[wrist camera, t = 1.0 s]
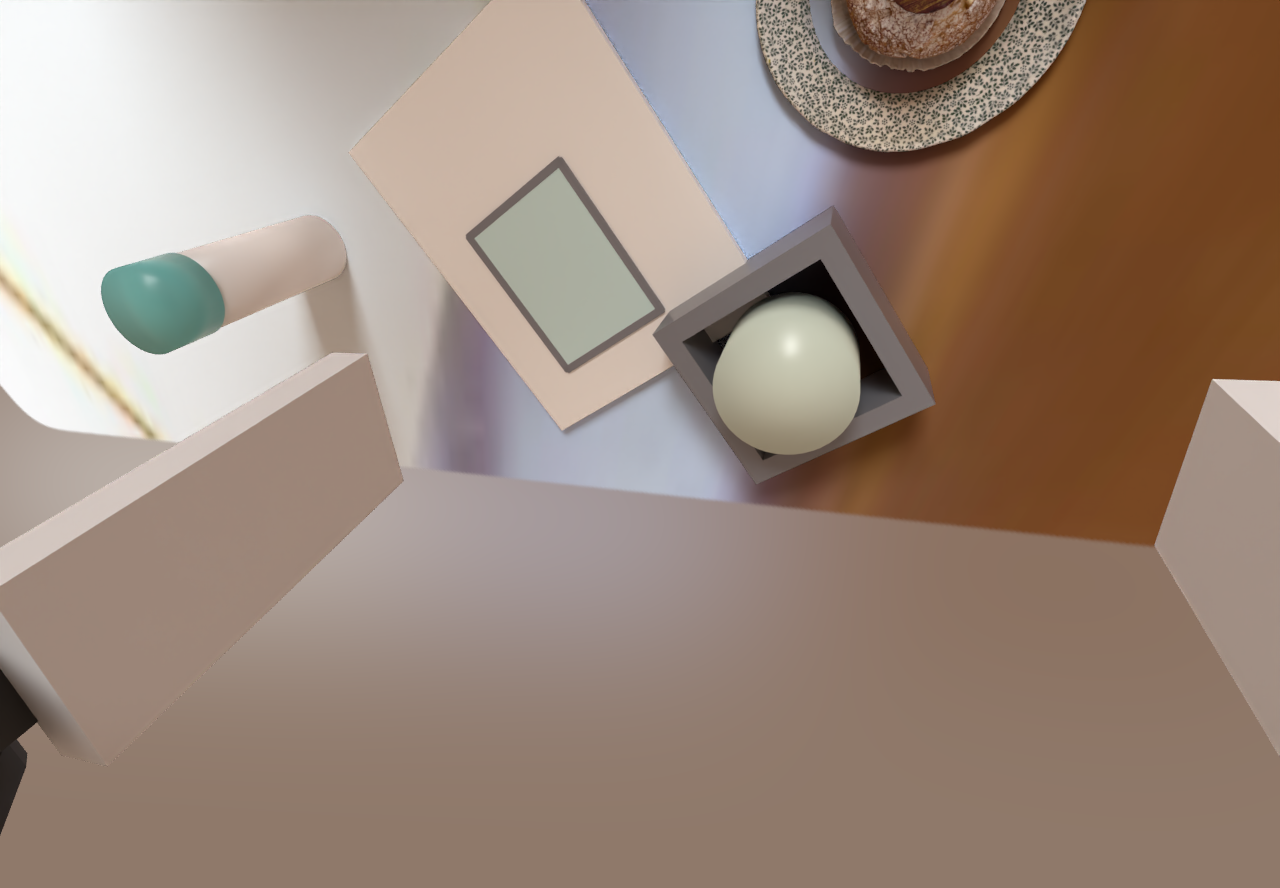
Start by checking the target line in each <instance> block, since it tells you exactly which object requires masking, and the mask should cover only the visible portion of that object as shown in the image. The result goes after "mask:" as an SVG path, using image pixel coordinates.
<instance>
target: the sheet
mask: <svg viewBox="0 0 1280 888" xmlns="http://www.w3.org/2000/svg"><path fill="white" fill-rule="evenodd" d="M349 154H350V155H351V157H352V158H353V159H354V161H355V162H356V163H357V165H358V166H359V167H360V168H361V170H362V171H363V172H364V174H365V175H366V176H367V178H368V179H369V180H370V181H371V183H372V184H373V185H374V187H375V188H376V189H377V191H378V192H379V193H380V194H381V196H382V197H383V198H384V200H385V201H386V202H387V204H388V205H389V206H390V208H391V209H392V210H393V211H394V213H395V214H396V215H397V217H398V218H399V219H400V221H401V222H402V223H403V224H404V226H405V227H406V228H407V230H408V231H409V232H410V234H411V235H412V236H413V237H414V239H415V240H416V241H417V243H418V244H419V245H420V247H421V248H422V249H423V250H424V252H425V253H426V254H427V256H428V257H429V258H430V260H431V261H432V262H433V263H434V265H435V266H436V267H437V269H438V270H439V271H440V273H441V274H442V275H443V276H444V278H445V279H446V280H447V282H448V283H449V284H450V286H451V287H452V288H453V289H454V291H455V292H456V293H457V295H458V296H459V297H460V299H461V300H462V301H463V303H464V304H465V305H466V306H467V308H468V309H469V310H470V312H471V313H472V314H473V316H474V317H475V318H476V319H477V321H478V322H479V323H480V325H481V326H482V327H483V329H484V330H485V331H486V332H487V334H488V335H489V336H490V338H491V339H492V340H493V342H494V343H495V344H496V345H497V347H498V348H499V349H500V351H501V352H502V353H503V355H504V356H505V357H506V358H507V360H508V361H509V362H510V364H511V365H512V366H513V368H514V369H515V370H516V371H517V373H518V374H519V375H520V377H521V378H522V379H523V381H524V382H525V383H526V384H527V386H528V387H529V388H530V390H531V391H532V392H533V394H534V395H535V396H536V398H537V399H538V400H539V401H540V403H541V404H542V405H543V407H544V408H545V409H546V411H547V412H548V413H549V414H550V416H551V417H552V418H553V420H554V421H555V422H556V424H557V425H558V426H559V427H560V429H561V430H564V429H566V428H568V427H569V426H571V425H573V424H574V423H576V422H578V421H580V420H581V419H583V418H585V417H586V416H588V415H590V414H592V413H593V412H595V411H597V410H598V409H600V408H602V407H604V406H605V405H607V404H609V403H610V402H612V401H614V400H616V399H617V398H619V397H621V396H622V395H624V394H626V393H628V392H629V391H631V390H633V389H634V388H636V387H638V386H640V385H641V384H643V383H645V382H646V381H648V380H650V379H652V378H653V377H655V376H657V375H658V374H660V373H662V372H664V371H665V370H667V369H669V368H670V367H672V366H674V365H673V364H672V362H671V361H670V360H669V358H668V357H667V355H666V354H665V352H664V351H663V349H662V348H661V347H660V345H659V344H658V342H657V341H656V339H655V338H654V336H653V335H652V334H653V333H654V332H655V330H656V329H657V328H658V326H659V325H660V323H661V322H662V321H663V319H664V318H665V317H666V315H667V314H668V313H669V311H671V310H672V309H674V308H676V307H677V306H679V305H680V304H682V303H683V302H685V301H687V300H688V299H690V298H691V297H693V296H694V295H696V294H698V293H699V292H701V291H702V290H704V289H706V288H707V287H709V286H710V285H712V284H713V283H715V282H717V281H718V280H720V279H721V278H723V277H725V276H726V275H728V274H729V273H731V272H732V271H734V270H736V269H737V268H739V267H740V266H742V265H744V264H745V263H746V262H747V258H746V257H745V255H744V253H743V252H742V250H741V249H740V247H739V246H738V244H737V242H736V241H735V239H734V238H733V236H732V234H731V233H730V231H729V230H728V228H727V226H726V225H725V223H724V222H723V220H722V218H721V217H720V215H719V214H718V212H717V210H716V209H715V207H714V206H713V204H712V203H711V201H710V199H709V198H708V196H707V195H706V193H705V191H704V190H703V188H702V187H701V185H700V183H699V182H698V180H697V179H696V177H695V175H694V174H693V172H692V171H691V169H690V168H689V166H688V164H687V163H686V161H685V160H684V158H683V156H682V155H681V153H680V152H679V150H678V148H677V147H676V145H675V144H674V142H673V140H672V139H671V137H670V136H669V134H668V132H667V131H666V129H665V128H664V126H663V125H662V123H661V121H660V120H659V118H658V117H657V115H656V113H655V112H654V110H653V109H652V107H651V105H650V104H649V102H648V101H647V99H646V97H645V96H644V94H643V93H642V91H641V90H640V88H639V86H638V85H637V83H636V82H635V80H634V78H633V77H632V75H631V74H630V72H629V70H628V69H627V67H626V66H625V64H624V62H623V61H622V59H621V58H620V56H619V54H618V53H617V51H616V50H615V48H614V47H613V45H612V43H611V42H610V40H609V39H608V37H607V35H606V34H605V32H604V31H603V29H602V27H601V26H600V24H599V23H598V21H597V19H596V18H595V16H594V15H593V13H592V12H591V10H590V8H589V7H588V5H587V4H586V2H585V0H491V1H490V2H489V3H488V4H487V5H486V7H485V8H484V9H483V10H482V11H481V12H480V13H479V14H478V15H477V16H476V17H475V18H474V19H473V20H472V21H471V23H470V24H469V25H468V26H467V27H466V28H465V29H464V30H463V31H462V32H461V33H460V34H459V35H458V36H457V37H456V39H455V40H454V41H453V42H452V43H451V44H450V45H449V46H448V47H447V48H446V49H445V50H444V51H443V52H442V53H441V55H440V56H439V57H438V58H437V59H436V60H435V61H434V62H433V63H432V64H431V65H430V66H429V67H428V68H427V69H426V71H425V72H424V73H423V74H422V75H421V76H420V77H419V78H418V79H417V80H416V81H415V82H414V83H413V84H412V85H411V87H410V88H409V89H408V90H407V91H406V92H405V93H404V94H403V95H402V96H401V97H400V98H399V99H398V100H397V101H396V102H395V104H394V105H393V106H392V107H391V108H390V109H389V110H388V111H387V112H386V113H385V114H384V115H383V116H382V117H381V118H380V120H379V121H378V122H377V123H376V124H375V125H374V126H373V127H372V128H371V129H370V130H369V131H368V132H367V133H366V134H365V136H364V137H363V138H362V139H361V140H360V141H359V142H358V143H357V144H356V145H355V146H354V147H353V148H352V149H351V150H350V152H349ZM767 297H770V295H769V293H768V292H767V291H766V292H765V293H763V294H761V295H760V296H758V297H756V298H755V299H753V300H751V301H750V302H748V303H746V304H745V305H743V306H741V307H740V308H738V309H736V310H735V311H733V312H731V313H730V314H728V315H726V316H725V317H723V318H721V319H720V320H718V321H716V322H715V323H713V324H711V325H710V326H708V327H706V328H705V329H704V330H705V331H706V333H707V334H708V336H709V337H710V339H711V340H712V342H715V341H717V340H718V339H720V338H722V337H724V336H725V335H727V334H729V333H730V332H732V330H733V328H734V326H735V324H736V323H737V321H738V320H739V318H740V317H741V316H742V315H743V314H744V312H745V311H747V310H748V309H749V308H750V307H751V306H753V305H754V304H756V303H757V302H759V301H761V300H763V299H765V298H767Z"/></svg>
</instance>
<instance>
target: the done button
mask: <svg viewBox="0 0 1280 888" xmlns="http://www.w3.org/2000/svg"><path fill="white" fill-rule="evenodd" d="M713 397H714V402H715V405H716V408H717V410H718V413H719V415H720V417H721V418H722V420H723V422H724V423H725V424H726V426H727V427H728V428H729V429H730V430H731V431H732V432H733V433H734V434H735V435H736V436H737V437H738V438H739V439H741V440H742V441H744V442H745V443H747V444H749V445H750V446H752V447H755V448H757V449H759V450H762V451H765V452H769V453H774V454H783V455H794V454H802V453H807V452H810V451H814V450H816V449H819V448H821V447H823V446H825V445H827V444H829V443H830V442H832V441H833V440H835V439H836V438H837V437H838V436H839V435H840V434H842V433H843V432H844V430H845V429H846V428H847V427H848V426H849V424H850V422H851V421H852V419H853V418H854V415H855V413H856V411H857V408H858V404H859V400H860V345H859V340H858V337H857V334H856V331H855V329H854V327H853V325H852V323H851V322H850V320H849V319H848V317H847V316H846V315H845V314H844V313H843V312H842V311H841V310H840V309H839V308H838V307H836V306H835V305H834V304H832V303H830V302H829V301H827V300H825V299H823V298H821V297H818V296H815V295H812V294H807V293H801V292H788V293H781V294H776V295H772V296H770V297H767V298H765V299H763V300H761V301H759V302H757V303H756V304H754V305H753V306H751V307H750V308H749V309H748V310H747V311H745V312H744V314H743V315H742V316H741V317H740V318H739V320H738V321H737V323H736V324H735V326H734V328H733V330H732V332H731V335H730V337H729V339H728V341H727V343H726V346H725V348H724V350H723V352H722V354H721V357H720V359H719V361H718V363H717V365H716V369H715V372H714V377H713Z"/></svg>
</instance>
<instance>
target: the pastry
mask: <svg viewBox="0 0 1280 888" xmlns="http://www.w3.org/2000/svg"><path fill="white" fill-rule="evenodd" d="M1004 2H1005V0H831V7H832V15H833V16H832V17H833V20H834V28H835V30H836V31H837V33H838V35H839V36H840V37H842V38H843V41H844V42H845V44H848V45H851V47H852V49H853V50H854V51H855V52H858V53H859V54H860V56H861V57H862V58H864V59H867V60H868V61H869V62H870V63H871V64H876V65H879V66H880V67H881V68H882V66H883V65H887V66H889V67H890V69H897V70H904V69H907V72H914V70H916V69H918V70H922V71H926V70H928V69H934V68H936V67H939V66H942V65H944V64H946V63H949V62H950V61H953V60H955V59H957V58H959V57H960V56H962V55H963V54H964V53H965V52H967V51H968V50H969V49H971V48H972V47H973V46H974V45H975V44H976V43H977V42H978V41H979V40H980V39H981V38H982V37H983V36H984V34H985V33H986V32H987V31H988V29H989V28H990V27H991V26H992V24H993V22H994V21H995V20H996V18H997V17H998V15H999V12H1000V10H1001V8H1002V7H1003V5H1004ZM1085 3H1086V0H1020V2H1019V4H1018V7H1017V9H1016V11H1015V13H1014V15H1013V17H1012V19H1011V21H1010V22H1009V24H1008V25H1007V27H1006V28H1005V30H1004V32H1003V33H1002V34H1001V36H1000V37H999V38H998V40H997V41H996V42H995V43H994V45H993V46H992V47H991V48H990V49H989V50H988V51H987V52H986V53H985V55H984V56H982V57H981V58H980V59H979V60H978V61H977V62H976V63H975V64H973V65H972V66H971V67H970V68H969V69H967V70H966V71H964V72H962V73H961V74H960V75H958V76H956V77H954V78H953V79H951V80H949V81H947V82H945V83H943V84H941V85H939V86H935V87H933V88H930V89H927V90H923V91H918V92H913V93H907V94H906V93H902V94H899V93H897V94H895V93H894V94H891V93H884V92H879V91H874V90H871V89H868V88H865V87H863V86H861V85H859V84H857V83H855V82H853V81H851V80H850V79H849V78H847V77H846V76H845V75H844V74H842V73H841V72H840V71H839V70H838V69H837V67H836V66H835V65H833V63H832V62H831V61H830V60H829V58H828V57H827V56H826V54H825V52H824V50H823V49H822V47H821V45H820V42H819V40H818V38H817V36H816V33H815V28H814V26H813V22H812V18H811V13H810V3H809V0H756V18H757V30H758V35H759V40H760V44H761V48H762V51H763V55H764V58H765V60H766V63H767V66H768V68H769V71H770V73H771V75H772V77H773V79H774V81H775V82H776V84H777V86H778V88H779V89H780V91H781V92H782V93H783V95H784V96H785V97H786V99H787V100H788V101H789V102H790V104H791V105H793V107H795V108H796V110H797V111H798V112H799V113H800V114H801V115H802V116H803V117H804V118H805V119H806V120H807V121H808V122H809V123H810V124H812V125H813V126H814V127H816V128H817V129H819V131H822V132H824V133H826V134H828V135H829V136H832V137H834V138H836V139H838V140H839V141H841V142H843V143H845V144H849V145H852V146H855V147H858V148H862V149H867V150H871V151H880V152H904V151H912V150H918V149H922V148H927V147H930V146H933V145H936V144H940V143H944V142H947V141H951V140H954V139H957V138H959V137H962V136H964V135H966V134H969V133H970V132H972V131H974V130H975V129H977V128H979V127H980V126H982V125H983V124H985V123H986V122H988V121H989V120H991V119H992V118H994V117H995V116H997V115H998V114H1000V113H1002V112H1003V111H1005V110H1006V109H1008V108H1009V107H1010V106H1011V105H1013V104H1014V103H1015V102H1016V101H1018V100H1019V99H1020V98H1021V97H1022V96H1024V94H1025V93H1026V92H1027V91H1028V90H1029V89H1030V88H1031V87H1032V86H1033V85H1034V84H1035V83H1036V82H1037V81H1038V80H1039V79H1040V78H1041V77H1042V75H1043V74H1044V73H1045V72H1046V70H1047V69H1048V68H1049V67H1050V65H1051V64H1052V63H1053V62H1054V61H1055V59H1056V58H1057V56H1058V54H1059V53H1060V51H1061V50H1062V48H1063V47H1064V46H1065V44H1066V42H1067V41H1068V39H1069V37H1070V35H1071V33H1072V31H1073V30H1074V28H1075V25H1076V23H1077V21H1078V19H1079V17H1080V15H1081V12H1082V10H1083V7H1084V5H1085Z"/></svg>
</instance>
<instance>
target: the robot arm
mask: <svg viewBox="0 0 1280 888" xmlns="http://www.w3.org/2000/svg"><path fill="white" fill-rule="evenodd" d="M402 482H403V477H402V474H401V470H400V467H399V463H398V460H397V456H396V453H395V449H394V446H393V442H392V439H391V435H390V432H389V428H388V425H387V421H386V418H385V414H384V411H383V407H382V404H381V400H380V397H379V393H378V390H377V386H376V383H375V379H374V376H373V372H372V369H371V365H370V362H369V358H368V355H367V354H364V353H330V354H329V355H327V356H325V357H324V358H322V359H320V360H319V361H317V362H315V363H313V364H312V365H310V366H308V367H307V368H305V369H303V370H302V371H300V372H298V373H296V374H295V375H293V376H291V377H290V378H288V379H286V380H285V381H283V382H281V383H279V384H278V385H276V386H274V387H273V388H271V389H269V390H268V391H266V392H264V393H262V394H261V395H259V396H257V397H256V398H254V399H252V400H251V401H249V402H247V403H245V404H244V405H242V406H240V407H239V408H237V409H235V410H234V411H232V412H230V413H228V414H227V415H225V416H223V417H222V418H220V419H218V420H217V421H215V422H213V423H211V424H210V425H208V426H206V427H205V428H203V429H201V430H200V431H198V432H196V433H194V434H193V435H191V436H189V437H188V438H186V439H184V440H183V441H181V442H179V443H177V444H176V445H174V446H172V447H171V448H169V449H167V450H166V451H164V452H162V453H160V454H159V455H157V456H155V457H154V458H152V459H150V460H149V461H147V462H145V463H143V464H142V465H140V466H138V467H137V468H135V469H133V470H132V471H130V472H128V473H127V474H125V475H123V476H122V477H120V478H118V479H116V480H115V481H113V482H111V483H110V484H108V485H106V486H104V487H103V488H101V489H99V490H98V491H96V492H94V493H93V494H91V495H89V496H87V497H86V498H84V499H82V500H81V501H79V502H78V503H76V504H74V505H72V506H71V507H69V508H67V509H65V510H64V511H62V512H60V513H59V514H57V515H55V516H53V517H52V518H50V519H48V520H47V521H45V522H43V523H42V524H40V525H38V526H36V527H35V528H33V529H31V530H30V531H28V532H26V533H25V534H23V535H21V536H19V537H18V538H16V539H14V540H13V541H11V542H9V543H8V544H6V545H4V546H3V547H1V548H0V834H1V832H2V829H3V826H4V824H5V821H6V818H7V816H8V813H9V810H10V808H11V805H12V803H13V800H14V797H15V795H16V792H17V789H18V787H19V784H20V781H21V779H22V776H23V773H24V771H25V768H26V762H27V752H26V751H25V750H24V748H23V747H22V746H21V745H20V743H19V742H18V741H17V738H18V737H20V736H21V735H22V734H23V733H25V732H26V731H27V730H28V729H29V728H31V727H32V726H33V725H34V724H35V723H38V724H39V726H40V727H41V728H42V730H43V731H44V732H45V734H46V735H47V737H48V738H49V739H50V740H51V742H52V743H53V744H54V746H55V747H56V749H57V750H58V751H59V753H60V754H61V755H62V756H66V757H70V758H75V759H79V760H82V761H87V762H91V763H95V764H99V765H103V766H109V765H110V763H112V762H113V761H114V760H115V758H117V757H118V756H119V755H120V754H121V753H122V752H123V751H124V750H125V749H126V748H127V747H128V746H129V745H130V744H131V743H132V742H133V741H134V740H136V739H137V738H138V737H139V736H140V735H141V733H143V732H144V731H145V730H146V729H147V728H148V727H149V726H150V725H151V724H152V723H153V722H154V721H155V720H156V719H157V718H158V717H159V716H160V715H161V714H162V713H164V712H165V710H167V709H168V707H170V706H171V705H172V704H173V703H174V702H175V701H176V700H177V699H178V698H179V697H180V696H181V695H182V694H183V693H184V692H185V691H186V690H187V689H188V688H189V687H190V686H191V685H193V684H194V683H195V682H196V681H197V680H198V679H199V678H200V677H201V676H202V675H203V674H204V673H205V672H206V671H207V670H208V669H209V668H210V667H211V666H212V665H213V664H214V663H215V662H216V661H217V660H218V659H220V658H221V657H222V655H223V654H225V653H226V652H227V651H228V650H229V649H230V648H231V647H232V646H233V645H234V644H235V643H236V642H237V641H238V640H239V639H240V638H241V637H242V636H243V635H244V634H245V633H246V632H247V631H248V630H250V628H252V627H253V626H254V625H255V624H256V623H257V622H258V621H259V620H260V619H261V618H262V617H263V616H264V615H265V614H266V613H267V612H268V611H269V610H270V609H271V608H272V607H273V606H274V605H275V604H277V603H278V601H280V600H281V599H282V598H283V597H284V596H285V595H286V594H287V593H288V592H289V591H290V590H291V589H292V588H293V587H294V586H295V585H296V584H297V583H298V582H299V581H300V580H301V579H302V578H303V577H304V576H306V575H307V574H308V573H309V572H310V571H311V569H313V568H314V567H315V566H316V565H317V564H318V563H319V562H320V561H321V560H322V559H323V558H324V557H325V556H326V555H327V554H328V553H329V552H330V551H331V550H332V549H334V548H335V546H337V545H338V544H339V543H340V542H341V541H342V540H343V539H344V538H345V537H346V536H347V535H348V534H349V533H350V532H351V531H352V530H353V529H354V528H355V527H356V526H357V525H358V524H359V523H360V522H362V520H364V519H365V518H366V517H367V516H368V515H369V514H370V513H371V512H372V511H373V510H374V509H375V508H376V507H377V506H378V505H379V504H380V503H381V502H382V501H383V500H384V499H385V498H386V497H387V496H388V495H389V494H390V493H392V492H393V491H394V490H395V489H396V488H397V487H398V486H399V485H400V484H401V483H402ZM1154 546H1155V547H1156V549H1157V551H1158V553H1159V554H1160V556H1161V558H1162V559H1163V561H1164V562H1165V564H1166V566H1167V568H1168V569H1169V571H1170V573H1171V574H1172V576H1173V578H1174V579H1175V581H1176V583H1177V585H1178V586H1179V588H1180V590H1181V591H1182V593H1183V595H1184V596H1185V598H1186V600H1187V601H1188V603H1189V605H1190V606H1191V608H1192V610H1193V611H1194V613H1195V615H1196V616H1197V618H1198V620H1199V621H1200V623H1201V625H1202V626H1203V628H1204V630H1205V632H1206V633H1207V635H1208V637H1209V638H1210V640H1211V642H1212V643H1213V645H1214V647H1215V649H1216V650H1217V652H1218V654H1219V655H1220V657H1221V659H1222V660H1223V662H1224V664H1225V665H1226V667H1227V668H1228V670H1229V672H1230V674H1231V675H1232V677H1233V679H1234V680H1235V682H1236V684H1237V686H1238V687H1239V689H1240V691H1241V692H1242V694H1243V696H1244V697H1245V699H1246V701H1247V702H1248V704H1249V706H1250V708H1251V709H1252V711H1253V713H1254V714H1255V716H1256V718H1257V719H1258V721H1259V723H1260V724H1261V726H1262V728H1263V729H1264V731H1265V733H1266V734H1267V736H1268V738H1269V739H1270V741H1271V743H1272V745H1273V746H1274V748H1275V750H1276V751H1277V753H1278V755H1279V756H1280V381H1254V380H1221V379H1212V381H1211V384H1210V387H1209V390H1208V393H1207V396H1206V399H1205V401H1204V404H1203V407H1202V410H1201V413H1200V416H1199V419H1198V422H1197V424H1196V427H1195V430H1194V433H1193V436H1192V439H1191V442H1190V445H1189V447H1188V450H1187V453H1186V456H1185V459H1184V462H1183V465H1182V468H1181V470H1180V473H1179V476H1178V479H1177V482H1176V485H1175V488H1174V490H1173V493H1172V496H1171V499H1170V502H1169V505H1168V508H1167V511H1166V513H1165V516H1164V519H1163V522H1162V525H1161V528H1160V531H1159V534H1158V536H1157V539H1156V542H1155V545H1154Z"/></svg>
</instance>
